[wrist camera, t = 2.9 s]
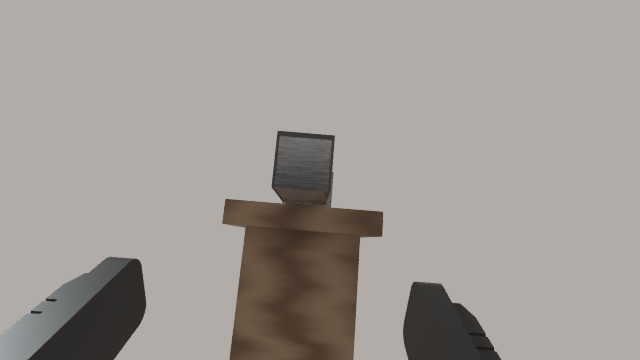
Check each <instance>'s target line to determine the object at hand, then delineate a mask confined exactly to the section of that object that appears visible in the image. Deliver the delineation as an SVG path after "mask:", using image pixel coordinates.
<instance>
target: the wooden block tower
mask: <svg viewBox="0 0 640 360" xmlns="http://www.w3.org/2000/svg"><path fill="white" fill-rule="evenodd" d="M223 224H228V225H233V226H240V227H245V228H246V229H245V238H244V246H243V254H242V262H241V270H240V278H239V287H238V295H237V303H236V312H235V320H234V328H233V336H232V344H231V352H230V360H353V355H354V335H355V318H356V300H357V280H358V264H359V244H360V237H381V236H382V227H383V212H377V211H366V210H352V209H341V208H329V207H317V206H304V205H292V204H280V203H267V202H255V201H243V200H230V199H226V200H225V207H224V215H223Z"/></svg>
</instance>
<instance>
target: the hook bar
mask: <svg viewBox="0 0 640 360" xmlns="http://www.w3.org/2000/svg"><path fill="white" fill-rule="evenodd" d="M334 138H335V136H333V135H321V134H309V133H297V132H285V131H278V134H277V142H276V151H275V161H274V170H273V179H272V188H273V190H274V191H275V192H276V193H277V195H278V196H279V197H280V199H281V200H282V201H283V203H282V204H292V205H304V206H317V207H329V208H331V197H332V184H333V172H332V165H333V151H334Z"/></svg>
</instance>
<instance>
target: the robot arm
mask: <svg viewBox="0 0 640 360" xmlns="http://www.w3.org/2000/svg"><path fill="white" fill-rule="evenodd" d="M145 309H146V298H145V290H144V283H143V274H142V266H141V263H140V261H139V260H138V259H131V258H118V257H109V258H106V259H105V260H104V261H102V262H101V263H100V264H99V265H98V266H97V267H95V268H94V269H93V270H92V271H91V272H89V273H85V274H83V275H81V276H79V277H77V278H75V279H73V280H71V281H69V282H68V283H65V284H63V285H62V286H61V287H60V288H59V289H57V290H56V291H55V292H54V293H52V294H51V295H50V296H49V297H47V298H46V301H45V302H44V301H43V302H41V303H40V304H39V305H38V306H36V307H35V308H34V309H32V310H31V313H30V314H26V315H25V316H24V317H23V318H21V319H20V320H19V321H18V322H16V323H15V324H14V325H13V326H11V327H10V328H9V329H8V330H6V331H5V332H4V333H3V334H1V335H0V360H114V358H115V357H116V356H117V354H118V353H119V352H120V350H121V349H122V347H123V346H124V345H125V344H126V342H127V341H128V340H129V338H130V337H131V335H132V334H133V333H134V332H135V330H136V329H137V327H138V326H139V325H140V323H141V321H142V319H143V316H144V313H145ZM403 337H404V344H405V349H406V352H407V356H408V360H501V359H500V357H499V355H498V354H497V352H495V351H494V347H493V345H492V344H491V342H490V340H489V339H488V337H486V335H485V332H484V330H483V329H482V327H481V326H480V324H479V322H478V321H477V319H476V318H475V317H474V316H473V315H472V314H471V313H470V312H469V311H468V310H467V309H466V308H464V307H463V306H462V305H461V304H459V303H452V302H451V300H450V298H449V297H448V295H447V293H446V291H445V289H444V287H443V286H442V285H441V284H437V283H425V282H414V283H413V284H412V287H411V291H410V296H409V301H408V305H407V311H406V315H405V320H404V327H403Z"/></svg>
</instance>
